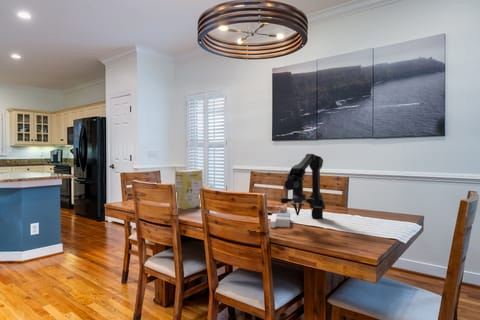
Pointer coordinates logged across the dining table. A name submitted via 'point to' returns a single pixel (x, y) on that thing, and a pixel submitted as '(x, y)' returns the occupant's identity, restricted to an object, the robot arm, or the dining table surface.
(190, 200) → the pasta box
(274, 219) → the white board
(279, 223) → the grey block
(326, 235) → the dining table surface
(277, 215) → the slate block
